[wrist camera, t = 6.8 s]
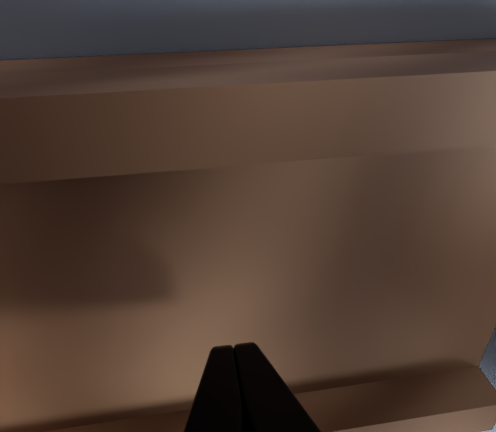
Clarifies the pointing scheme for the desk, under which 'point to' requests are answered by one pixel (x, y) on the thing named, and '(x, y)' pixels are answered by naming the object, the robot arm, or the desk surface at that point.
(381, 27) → the desk surface
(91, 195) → the channel
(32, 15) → the desk surface
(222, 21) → the desk surface
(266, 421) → the robot arm
